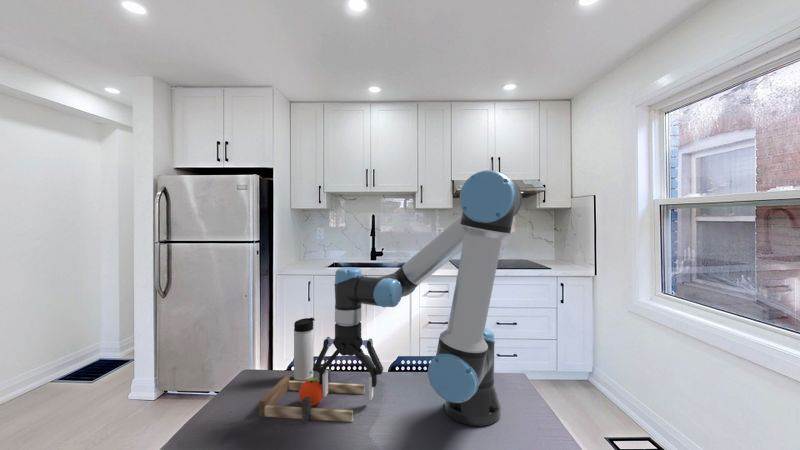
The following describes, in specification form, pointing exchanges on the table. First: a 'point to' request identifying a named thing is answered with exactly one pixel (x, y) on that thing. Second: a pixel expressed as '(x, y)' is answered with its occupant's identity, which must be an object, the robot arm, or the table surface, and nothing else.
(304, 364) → the travel mug
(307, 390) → the clementine
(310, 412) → the lane
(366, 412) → the table surface
